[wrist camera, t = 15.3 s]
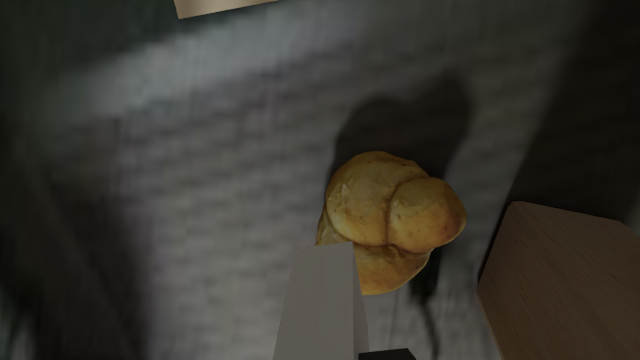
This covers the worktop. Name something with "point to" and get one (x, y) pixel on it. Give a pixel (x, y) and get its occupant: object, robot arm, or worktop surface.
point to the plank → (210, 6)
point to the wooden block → (562, 286)
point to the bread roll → (388, 217)
